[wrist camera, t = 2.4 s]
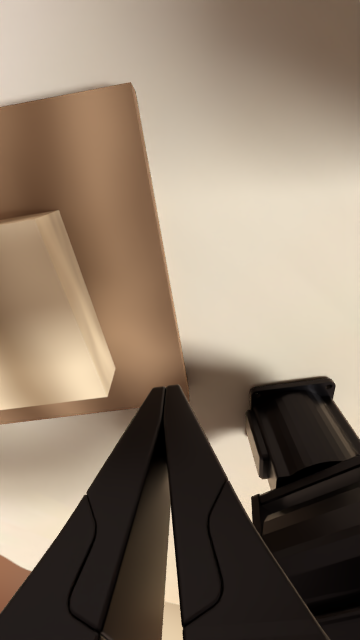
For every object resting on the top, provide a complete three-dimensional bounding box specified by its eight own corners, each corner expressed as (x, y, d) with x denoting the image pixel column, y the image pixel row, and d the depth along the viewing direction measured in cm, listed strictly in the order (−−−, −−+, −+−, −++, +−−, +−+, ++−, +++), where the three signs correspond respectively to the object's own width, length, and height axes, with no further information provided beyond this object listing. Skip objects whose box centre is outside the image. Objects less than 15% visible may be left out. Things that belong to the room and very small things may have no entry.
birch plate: (58, 209, 12) (34, 219, 10) (115, 368, 17) (107, 396, 15) (-79, 232, 13) (-130, 246, 11) (16, 381, 18) (-6, 410, 16)
